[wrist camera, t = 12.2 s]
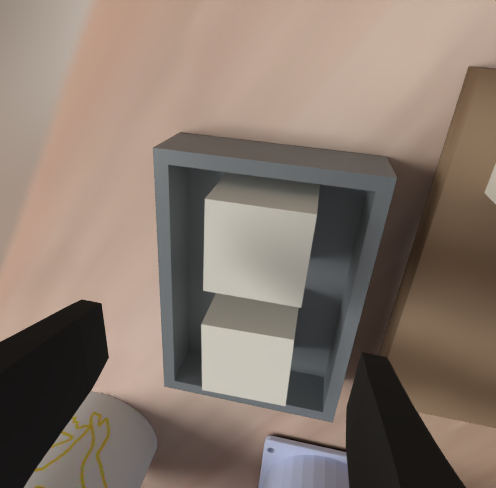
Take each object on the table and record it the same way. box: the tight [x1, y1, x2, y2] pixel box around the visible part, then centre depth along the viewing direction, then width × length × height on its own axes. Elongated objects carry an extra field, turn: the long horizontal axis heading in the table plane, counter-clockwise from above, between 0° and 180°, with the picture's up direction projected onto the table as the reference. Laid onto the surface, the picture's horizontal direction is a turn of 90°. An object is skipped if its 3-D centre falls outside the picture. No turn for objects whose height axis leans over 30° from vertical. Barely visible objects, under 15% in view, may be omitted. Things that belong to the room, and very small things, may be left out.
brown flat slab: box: [379, 67, 496, 428], centre depth 17 cm, size 16×7×2 cm, turn 176°
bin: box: [153, 132, 397, 422], centre depth 19 cm, size 13×9×3 cm
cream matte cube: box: [201, 293, 299, 406], centre depth 19 cm, size 4×4×4 cm
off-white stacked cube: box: [203, 172, 320, 308], centre depth 16 cm, size 4×4×4 cm
